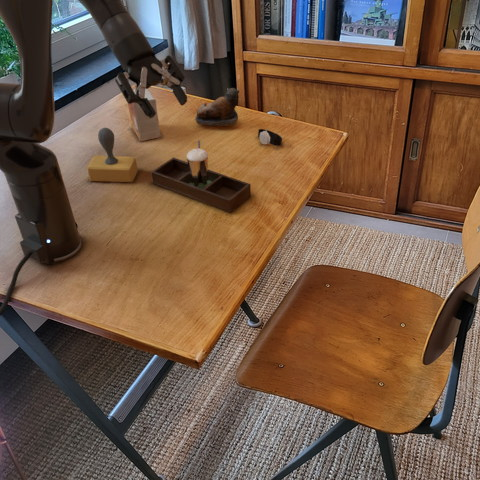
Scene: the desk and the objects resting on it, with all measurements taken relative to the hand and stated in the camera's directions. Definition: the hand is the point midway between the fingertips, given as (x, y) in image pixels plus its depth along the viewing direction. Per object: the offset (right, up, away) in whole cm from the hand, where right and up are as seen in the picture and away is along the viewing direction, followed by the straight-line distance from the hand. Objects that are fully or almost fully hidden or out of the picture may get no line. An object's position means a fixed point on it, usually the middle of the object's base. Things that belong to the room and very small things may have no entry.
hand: (169, 109), depth 124 cm
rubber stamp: (-15, -12, +12) cm, 23 cm away
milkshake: (+6, -15, +7) cm, 18 cm away
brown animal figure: (+7, +5, +32) cm, 33 cm away
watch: (+21, -1, +24) cm, 32 cm away
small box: (-11, +2, +28) cm, 30 cm away
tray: (+6, -16, +7) cm, 19 cm away
